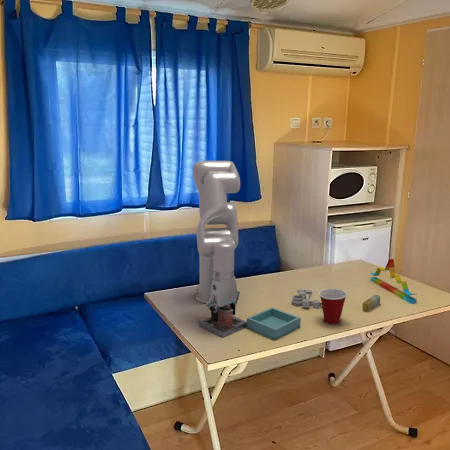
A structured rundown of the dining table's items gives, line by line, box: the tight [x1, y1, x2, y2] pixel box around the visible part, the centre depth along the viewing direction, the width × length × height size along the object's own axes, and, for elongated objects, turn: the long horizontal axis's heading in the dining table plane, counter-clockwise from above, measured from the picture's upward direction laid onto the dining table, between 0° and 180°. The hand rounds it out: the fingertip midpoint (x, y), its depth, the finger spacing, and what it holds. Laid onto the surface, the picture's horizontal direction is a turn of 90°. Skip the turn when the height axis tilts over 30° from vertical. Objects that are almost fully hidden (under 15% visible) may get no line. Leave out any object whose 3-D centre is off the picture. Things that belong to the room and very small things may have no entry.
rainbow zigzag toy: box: [370, 258, 418, 305], centre depth 220 cm, size 30×3×15 cm, turn 17°
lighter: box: [213, 304, 234, 330], centre depth 181 cm, size 8×3×10 cm, turn 58°
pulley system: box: [291, 288, 322, 309], centre depth 207 cm, size 27×5×15 cm
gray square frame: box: [198, 315, 247, 338], centre depth 182 cm, size 13×13×2 cm
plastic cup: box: [318, 288, 348, 325], centre depth 187 cm, size 11×11×12 cm
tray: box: [246, 307, 301, 341], centre depth 182 cm, size 14×15×4 cm
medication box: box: [362, 294, 381, 313], centre depth 202 cm, size 12×3×4 cm, turn 139°
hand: (223, 317), depth 182 cm, fingers open, 8 cm apart
